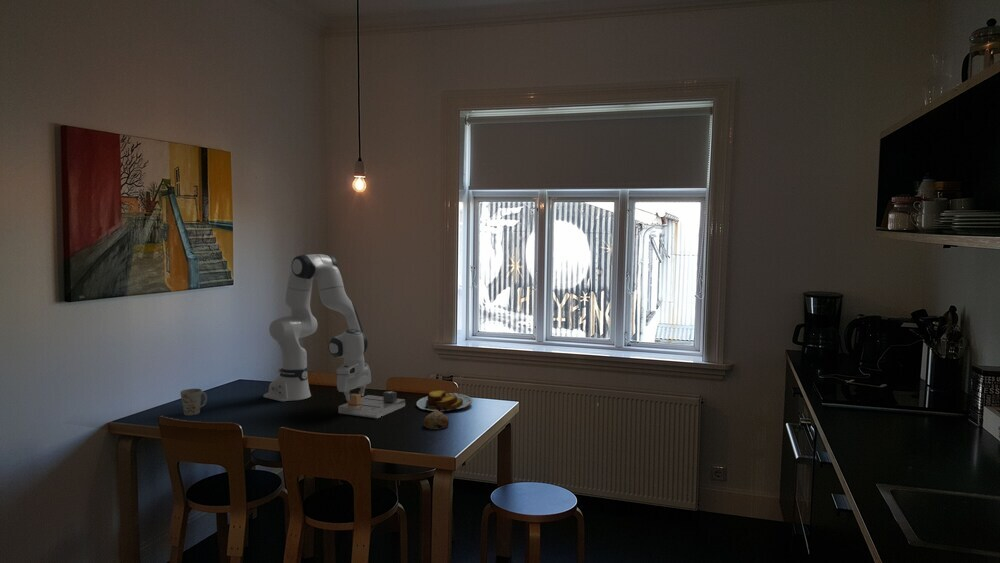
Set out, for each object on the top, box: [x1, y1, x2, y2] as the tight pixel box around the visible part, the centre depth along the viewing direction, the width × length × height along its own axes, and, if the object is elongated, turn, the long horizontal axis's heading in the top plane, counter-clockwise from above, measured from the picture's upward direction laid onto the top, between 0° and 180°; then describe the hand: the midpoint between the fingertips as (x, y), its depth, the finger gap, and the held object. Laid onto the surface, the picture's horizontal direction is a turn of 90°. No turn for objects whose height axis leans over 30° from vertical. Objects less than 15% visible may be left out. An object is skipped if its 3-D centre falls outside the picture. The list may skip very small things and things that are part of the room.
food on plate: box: [415, 389, 473, 412], centre depth 300 cm, size 25×25×7 cm
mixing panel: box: [337, 394, 406, 419], centre depth 294 cm, size 20×22×3 cm
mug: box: [180, 388, 208, 416], centre depth 288 cm, size 8×13×10 cm, turn 160°
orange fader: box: [347, 392, 362, 405], centre depth 291 cm, size 5×3×4 cm, turn 66°
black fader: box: [382, 390, 398, 403], centre depth 295 cm, size 5×3×4 cm, turn 66°
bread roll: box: [423, 411, 449, 430], centre depth 269 cm, size 10×10×8 cm
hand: (355, 397), depth 291 cm, fingers open, 8 cm apart
